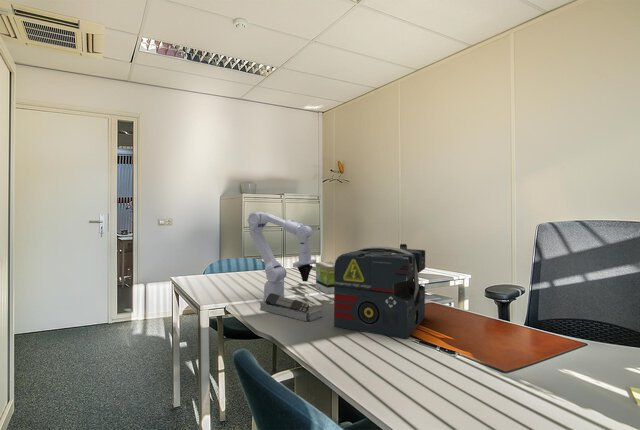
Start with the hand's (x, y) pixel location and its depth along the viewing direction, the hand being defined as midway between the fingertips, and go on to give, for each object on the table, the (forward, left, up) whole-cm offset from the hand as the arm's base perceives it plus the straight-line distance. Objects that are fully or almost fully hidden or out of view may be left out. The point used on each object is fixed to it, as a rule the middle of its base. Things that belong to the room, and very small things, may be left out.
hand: (304, 281), depth 168 cm
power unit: (+41, -2, -11) cm, 42 cm away
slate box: (+5, -15, -10) cm, 19 cm away
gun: (+3, -13, -10) cm, 17 cm away
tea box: (-6, +28, -11) cm, 31 cm away
